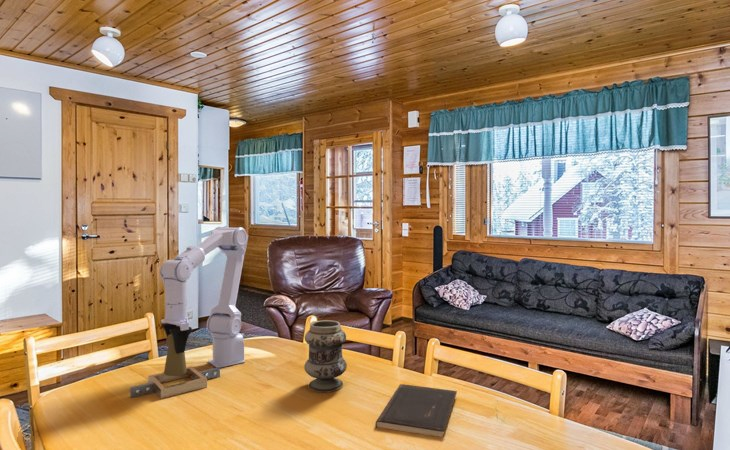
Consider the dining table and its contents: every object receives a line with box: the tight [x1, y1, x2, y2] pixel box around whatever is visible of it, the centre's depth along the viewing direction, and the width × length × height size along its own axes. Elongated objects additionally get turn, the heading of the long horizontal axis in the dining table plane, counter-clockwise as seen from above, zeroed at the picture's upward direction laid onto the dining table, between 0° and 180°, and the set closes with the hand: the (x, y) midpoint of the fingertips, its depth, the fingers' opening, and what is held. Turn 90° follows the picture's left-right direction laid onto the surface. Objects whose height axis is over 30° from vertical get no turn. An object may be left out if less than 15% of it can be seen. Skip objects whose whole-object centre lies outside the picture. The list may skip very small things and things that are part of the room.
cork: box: [163, 334, 187, 376], centre depth 133 cm, size 6×6×11 cm
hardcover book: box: [375, 383, 458, 438], centre depth 118 cm, size 16×23×2 cm
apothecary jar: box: [303, 319, 348, 393], centre depth 134 cm, size 12×12×18 cm
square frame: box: [129, 366, 221, 400], centre depth 134 cm, size 24×12×2 cm, turn 129°
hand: (176, 350), depth 133 cm, fingers closed on cork, 5 cm apart
